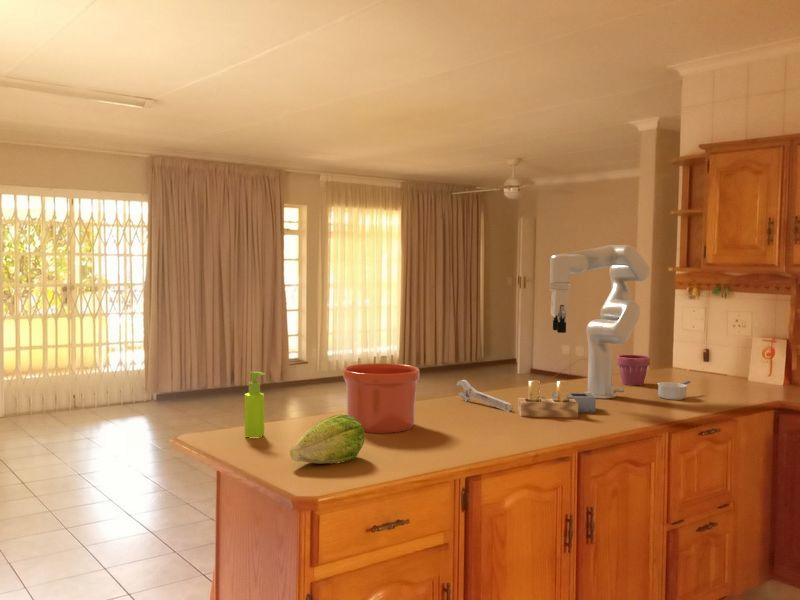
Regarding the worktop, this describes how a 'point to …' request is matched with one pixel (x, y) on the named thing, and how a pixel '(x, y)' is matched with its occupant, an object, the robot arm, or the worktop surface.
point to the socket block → (582, 401)
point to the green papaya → (330, 441)
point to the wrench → (482, 396)
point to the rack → (547, 408)
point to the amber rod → (533, 390)
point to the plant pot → (633, 368)
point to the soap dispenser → (254, 408)
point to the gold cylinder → (562, 392)
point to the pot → (381, 396)
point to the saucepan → (672, 390)
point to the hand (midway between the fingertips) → (559, 331)
